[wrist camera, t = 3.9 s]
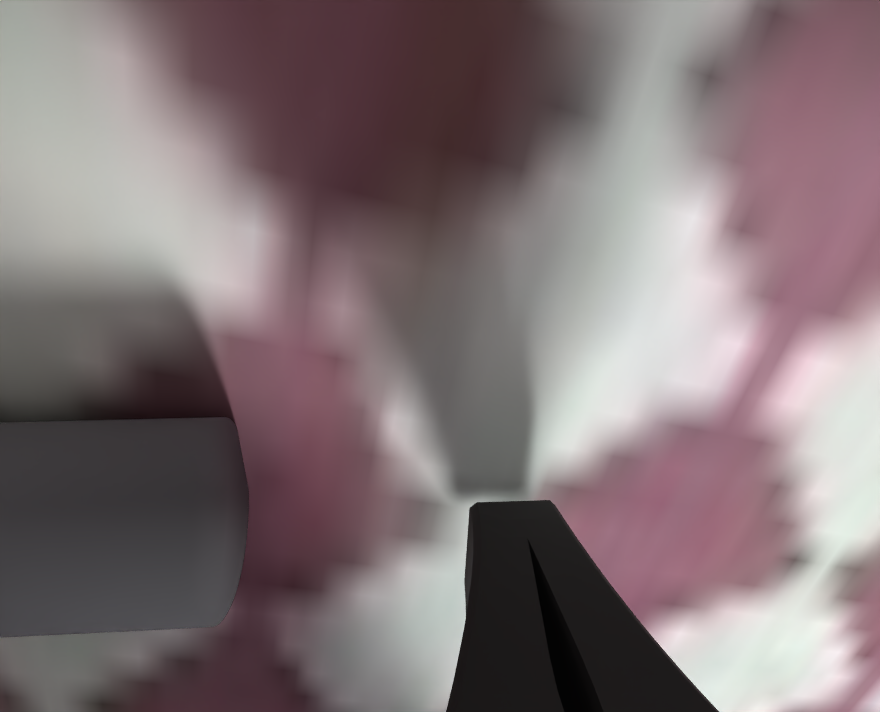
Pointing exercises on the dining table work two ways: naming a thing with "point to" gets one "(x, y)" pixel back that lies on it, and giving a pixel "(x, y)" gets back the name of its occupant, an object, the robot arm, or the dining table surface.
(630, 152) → the dining table surface
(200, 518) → the dark grey cylinder
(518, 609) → the robot arm
